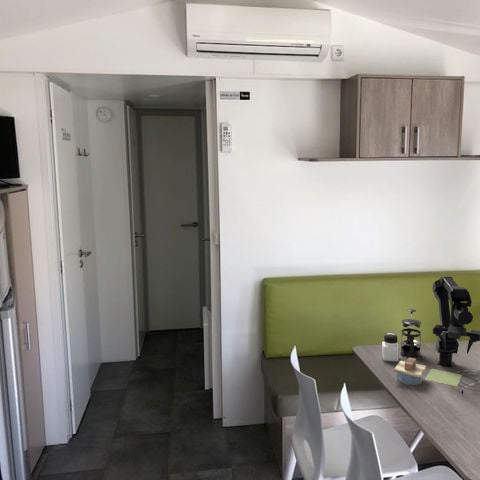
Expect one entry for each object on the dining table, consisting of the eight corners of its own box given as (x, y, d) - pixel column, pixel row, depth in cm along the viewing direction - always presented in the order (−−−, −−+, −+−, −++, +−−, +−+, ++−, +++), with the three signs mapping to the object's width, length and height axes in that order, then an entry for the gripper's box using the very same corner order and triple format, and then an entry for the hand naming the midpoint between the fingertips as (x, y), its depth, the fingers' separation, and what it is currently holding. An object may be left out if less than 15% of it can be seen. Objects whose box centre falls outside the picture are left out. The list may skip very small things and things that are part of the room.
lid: (400, 362, 213) (400, 354, 212) (426, 367, 207) (426, 359, 206) (393, 371, 203) (393, 362, 203) (420, 377, 198) (420, 368, 197)
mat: (431, 369, 216) (431, 368, 216) (462, 375, 209) (462, 374, 209) (424, 380, 206) (424, 379, 206) (457, 387, 199) (457, 386, 199)
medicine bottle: (398, 361, 226) (399, 337, 224) (383, 360, 227) (383, 337, 225) (397, 356, 233) (397, 332, 231) (381, 355, 234) (382, 331, 232)
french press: (422, 359, 228) (423, 313, 224) (401, 358, 230) (403, 312, 226) (418, 350, 239) (420, 306, 236) (398, 349, 241) (400, 305, 238)
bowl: (401, 373, 213) (401, 363, 212) (424, 378, 207) (424, 367, 206) (394, 382, 204) (395, 371, 204) (419, 387, 199) (419, 376, 198)
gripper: (430, 318, 202) (429, 353, 204) (479, 325, 192) (477, 362, 194) (436, 311, 211) (434, 345, 214) (482, 318, 201) (480, 353, 204)
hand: (455, 351), depth 206 cm, fingers open, 9 cm apart
